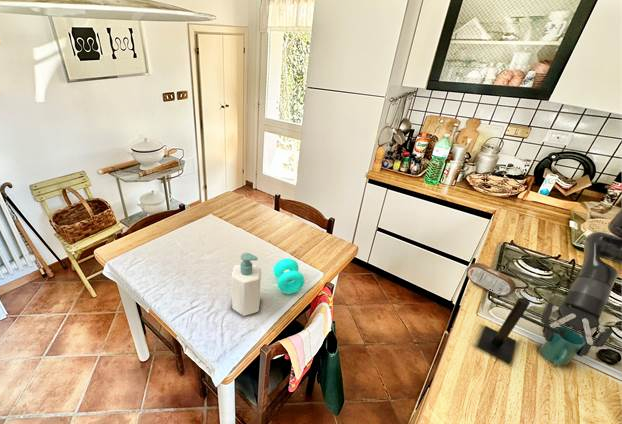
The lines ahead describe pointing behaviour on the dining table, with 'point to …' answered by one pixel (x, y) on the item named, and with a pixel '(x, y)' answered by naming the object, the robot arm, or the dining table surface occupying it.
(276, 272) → the turquoise dumbbell
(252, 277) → the soap bottle
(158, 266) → the dining table surface
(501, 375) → the dining table surface
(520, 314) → the mug stand
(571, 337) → the mug
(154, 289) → the dining table surface
